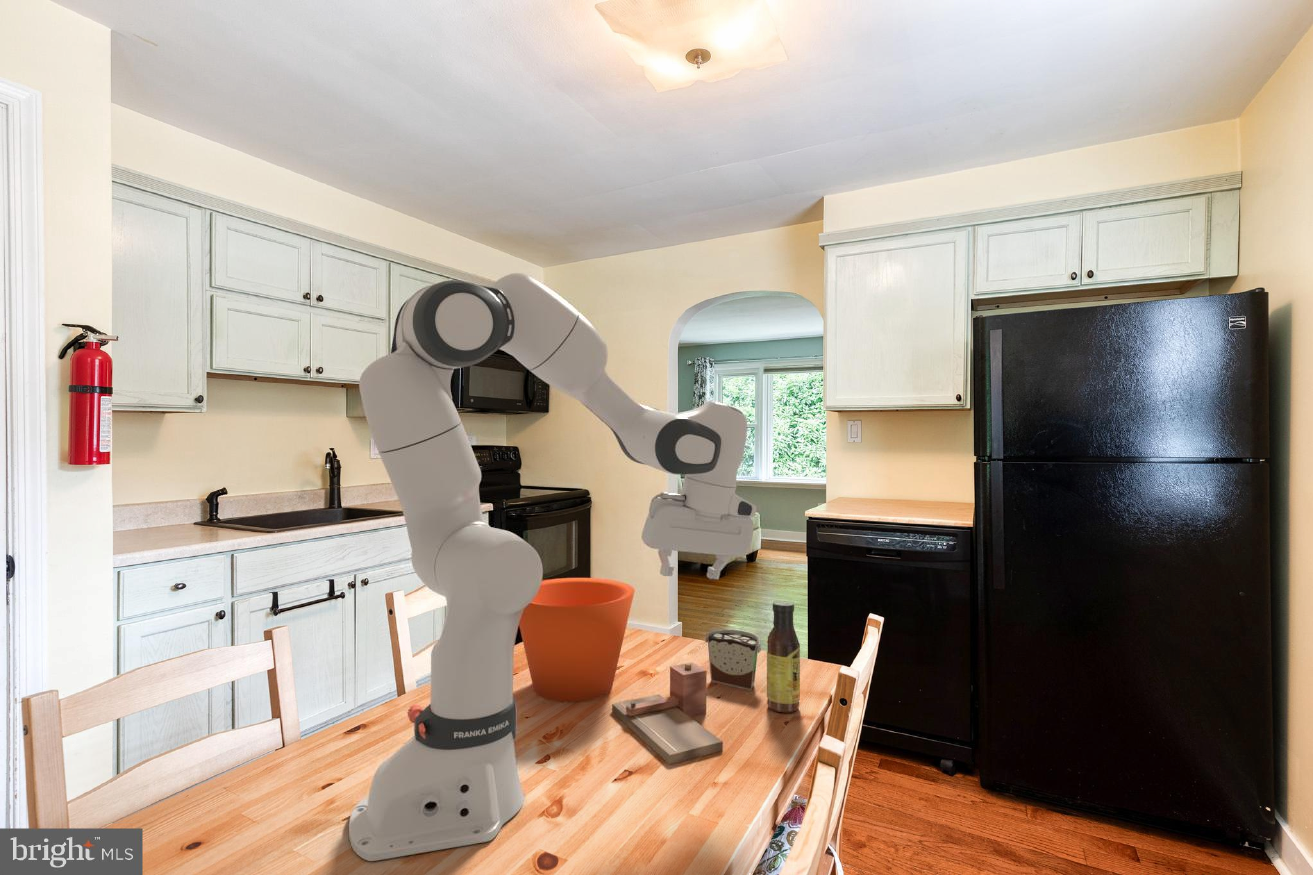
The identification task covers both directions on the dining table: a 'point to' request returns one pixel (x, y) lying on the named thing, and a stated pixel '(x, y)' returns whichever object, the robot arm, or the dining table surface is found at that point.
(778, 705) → the sauce bottle
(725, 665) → the food container
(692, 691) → the latch lever with knob
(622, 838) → the dining table surface
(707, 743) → the plank
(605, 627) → the flowerpot
